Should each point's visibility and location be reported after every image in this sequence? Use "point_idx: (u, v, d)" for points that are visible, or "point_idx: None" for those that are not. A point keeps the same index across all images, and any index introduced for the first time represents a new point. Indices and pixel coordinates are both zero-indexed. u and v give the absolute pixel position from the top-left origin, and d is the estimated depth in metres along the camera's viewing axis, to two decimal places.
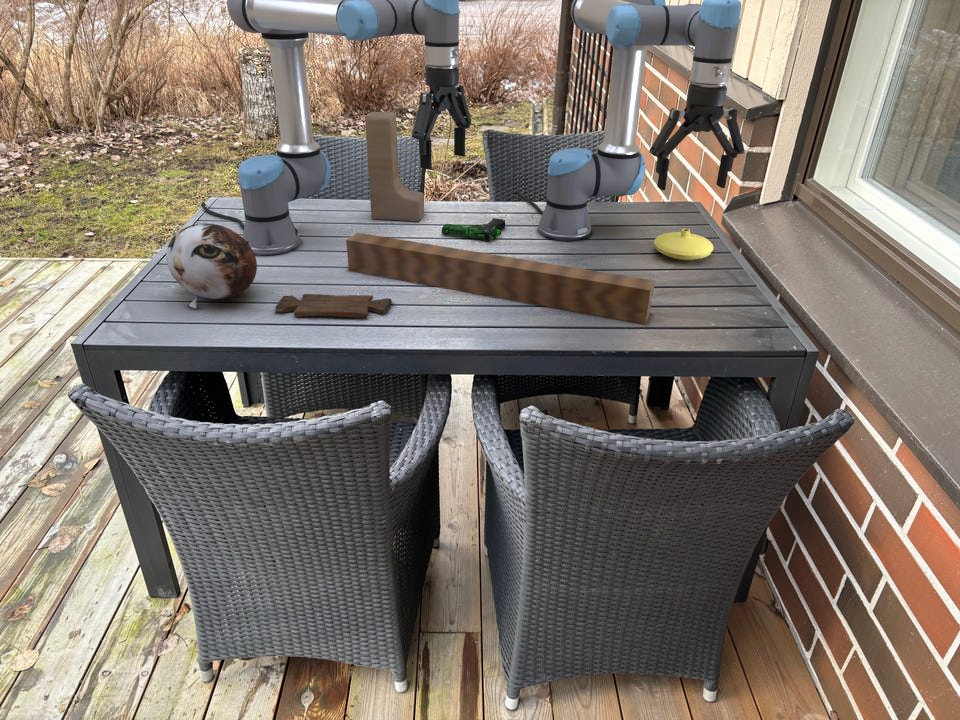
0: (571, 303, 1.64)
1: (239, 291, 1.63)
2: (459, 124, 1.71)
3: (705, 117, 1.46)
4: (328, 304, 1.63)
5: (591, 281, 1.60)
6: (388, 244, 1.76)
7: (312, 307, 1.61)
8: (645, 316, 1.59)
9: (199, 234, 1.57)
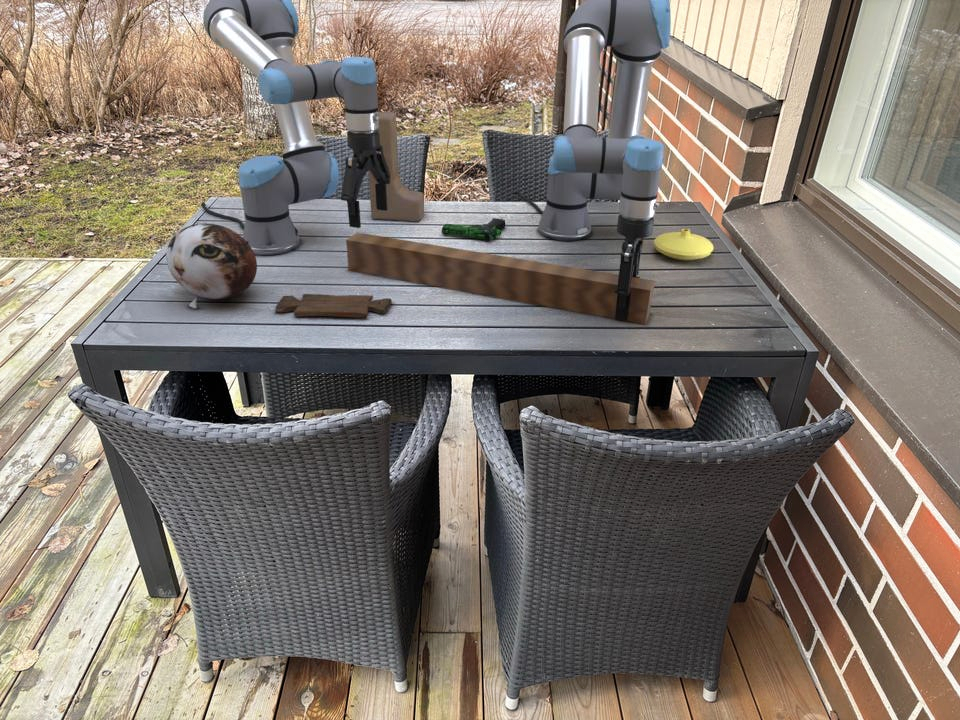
0: (571, 303, 1.64)
1: (239, 291, 1.63)
2: (380, 180, 1.78)
3: (637, 244, 1.55)
4: (328, 304, 1.63)
5: (591, 281, 1.60)
6: (388, 244, 1.76)
7: (312, 307, 1.61)
8: (645, 316, 1.59)
9: (199, 234, 1.57)
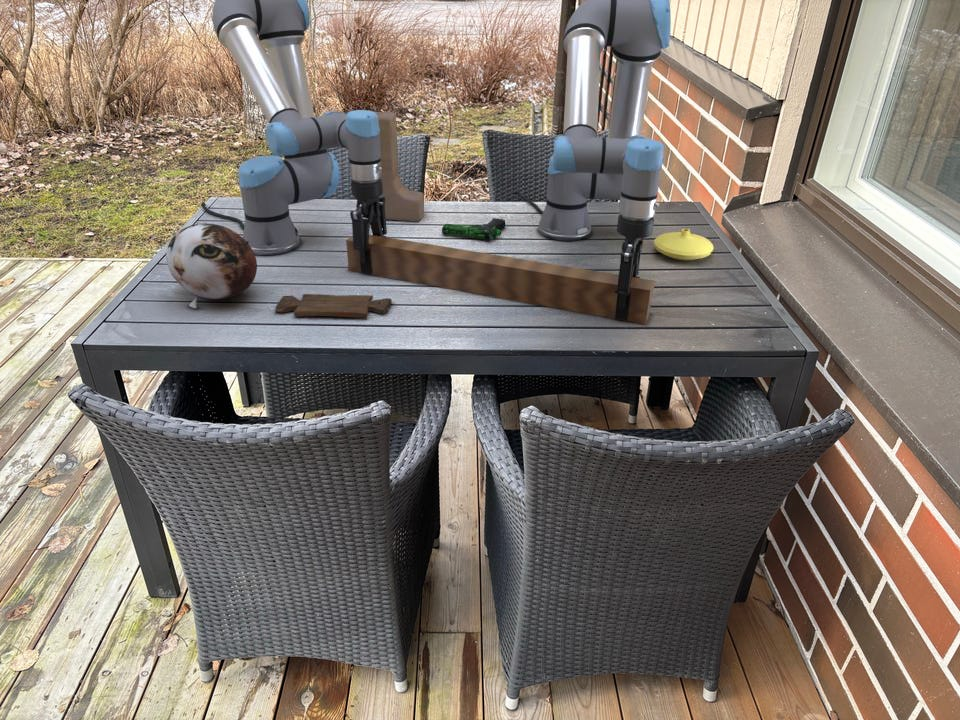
0: (571, 303, 1.64)
1: (239, 291, 1.63)
2: (376, 235, 1.82)
3: (637, 244, 1.55)
4: (328, 304, 1.63)
5: (591, 281, 1.60)
6: (388, 244, 1.76)
7: (312, 307, 1.61)
8: (645, 316, 1.59)
9: (199, 234, 1.57)
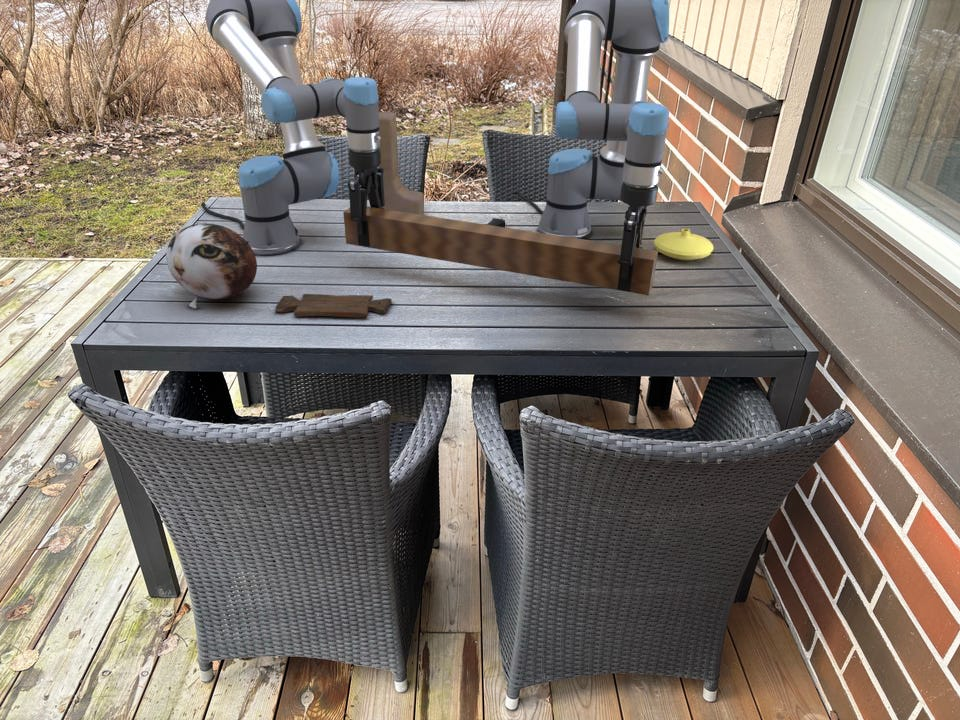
0: (572, 275, 1.61)
1: (239, 291, 1.63)
2: (374, 207, 1.79)
3: None
4: (328, 304, 1.63)
5: (593, 251, 1.56)
6: (386, 216, 1.73)
7: (312, 307, 1.61)
8: (648, 287, 1.56)
9: (199, 234, 1.57)
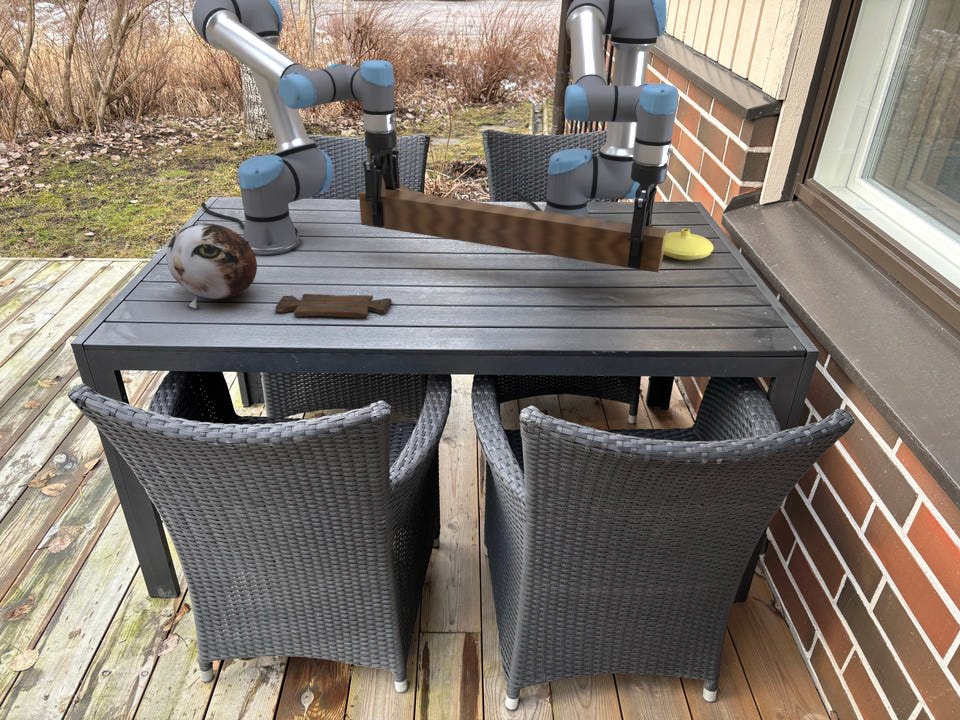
0: (584, 253, 1.66)
1: (239, 291, 1.63)
2: (389, 189, 1.83)
3: (651, 191, 1.56)
4: (328, 304, 1.63)
5: (604, 230, 1.61)
6: (401, 197, 1.77)
7: (312, 307, 1.61)
8: (658, 264, 1.60)
9: (199, 234, 1.57)
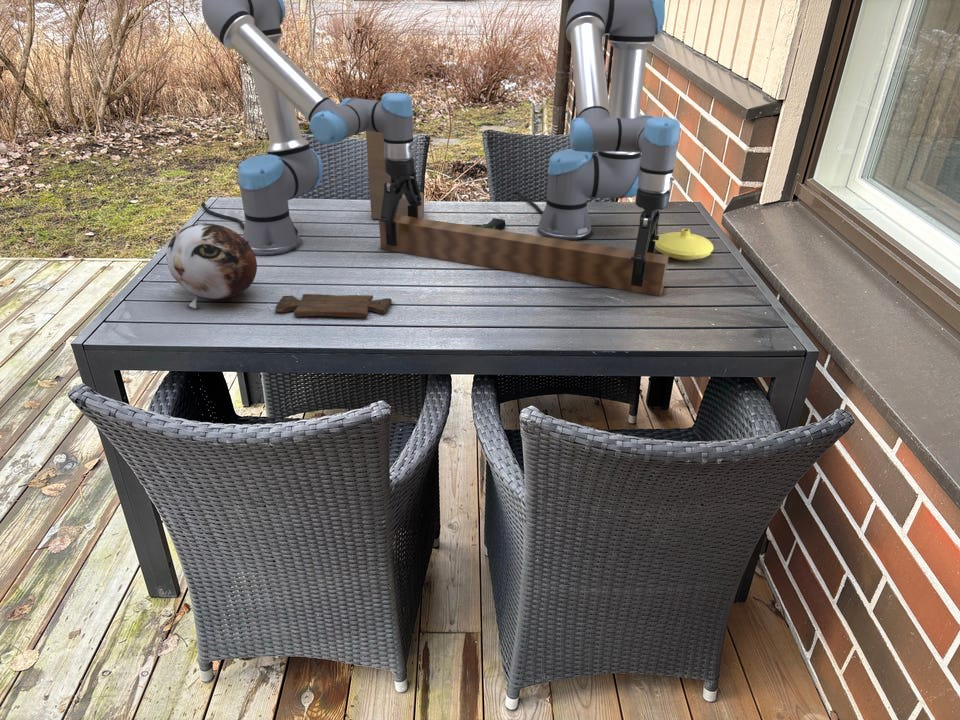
0: (590, 277, 1.77)
1: (239, 291, 1.63)
2: (412, 202, 1.96)
3: (654, 216, 1.66)
4: (328, 304, 1.63)
5: (610, 256, 1.72)
6: (418, 223, 1.89)
7: (312, 307, 1.61)
8: (660, 288, 1.72)
9: (199, 234, 1.57)
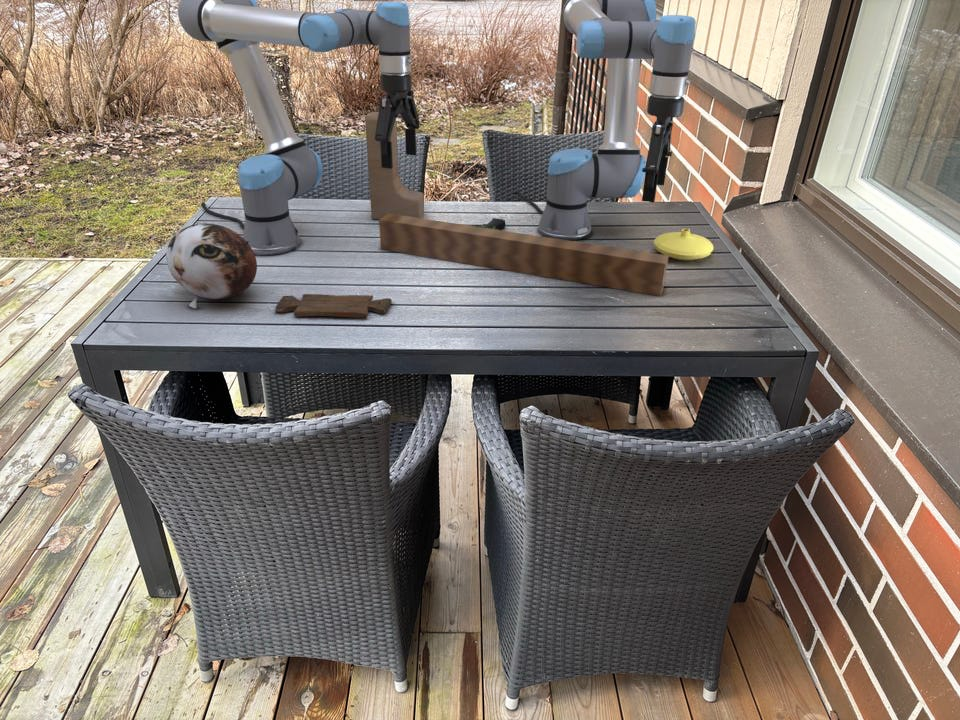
0: (590, 277, 1.77)
1: (239, 291, 1.63)
2: (409, 125, 1.86)
3: None
4: (328, 304, 1.63)
5: (610, 256, 1.72)
6: (418, 223, 1.89)
7: (312, 307, 1.61)
8: (660, 288, 1.72)
9: (199, 234, 1.57)
